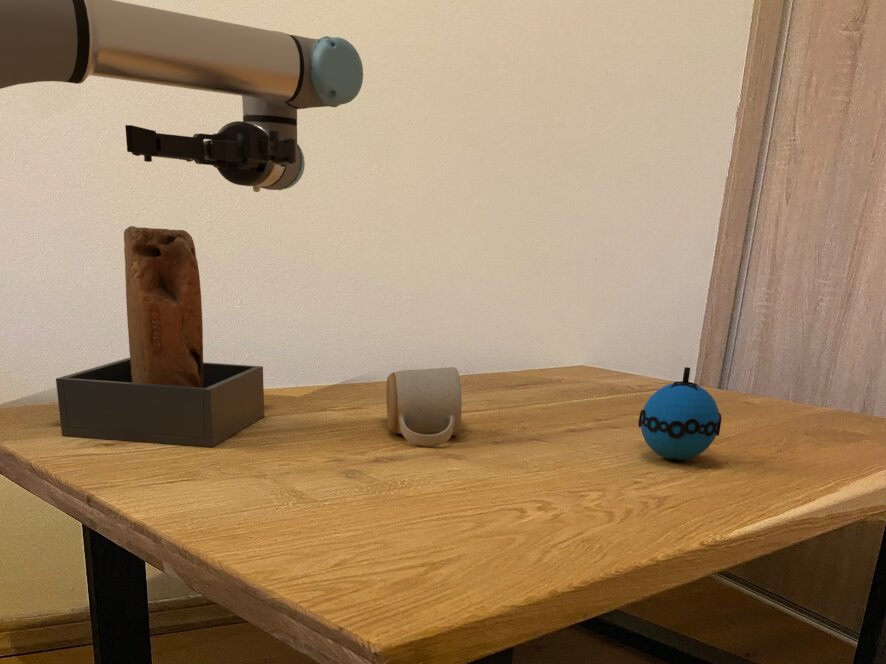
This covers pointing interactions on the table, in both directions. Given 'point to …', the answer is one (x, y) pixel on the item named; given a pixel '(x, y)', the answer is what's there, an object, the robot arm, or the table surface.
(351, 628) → the table surface
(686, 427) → the ornament
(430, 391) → the ceramic mug
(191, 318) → the block
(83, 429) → the bin
